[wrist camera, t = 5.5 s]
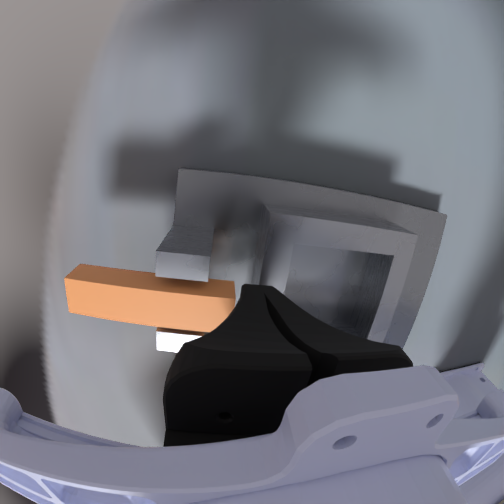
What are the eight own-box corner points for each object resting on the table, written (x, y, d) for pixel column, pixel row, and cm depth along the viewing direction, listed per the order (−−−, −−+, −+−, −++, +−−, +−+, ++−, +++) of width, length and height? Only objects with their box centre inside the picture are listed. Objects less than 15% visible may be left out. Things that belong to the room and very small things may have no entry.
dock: (437, 211, 16) (490, 232, 11) (396, 341, 19) (429, 383, 14) (181, 167, 14) (160, 174, 9) (172, 335, 17) (160, 392, 12)
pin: (234, 280, 12) (235, 298, 11) (230, 313, 13) (231, 334, 11) (80, 263, 11) (64, 278, 10) (83, 295, 12) (69, 312, 10)
